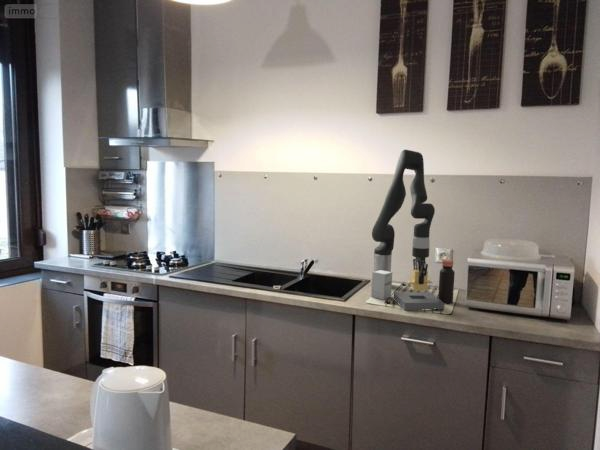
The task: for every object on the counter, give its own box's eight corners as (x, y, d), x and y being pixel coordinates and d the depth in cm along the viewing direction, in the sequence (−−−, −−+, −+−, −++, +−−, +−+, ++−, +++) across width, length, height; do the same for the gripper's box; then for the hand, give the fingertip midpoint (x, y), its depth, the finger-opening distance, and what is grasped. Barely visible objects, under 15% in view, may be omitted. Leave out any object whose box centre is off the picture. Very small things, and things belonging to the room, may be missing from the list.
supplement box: (383, 299, 226) (384, 274, 225) (370, 296, 231) (371, 271, 230) (391, 297, 232) (392, 272, 230) (378, 294, 237) (380, 269, 235)
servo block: (406, 288, 220) (407, 267, 219) (429, 288, 221) (430, 267, 220) (408, 290, 216) (409, 269, 215) (432, 290, 217) (433, 269, 216)
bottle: (443, 304, 221) (445, 262, 218) (435, 300, 227) (437, 259, 225) (455, 303, 222) (458, 262, 220) (447, 299, 229) (450, 259, 227)
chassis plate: (393, 299, 228) (393, 292, 227) (429, 299, 229) (429, 292, 229) (404, 310, 210) (404, 302, 210) (443, 310, 212) (443, 302, 211)
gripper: (434, 249, 210) (432, 286, 212) (423, 244, 224) (421, 279, 226) (418, 249, 209) (416, 286, 211) (408, 244, 223) (406, 279, 225)
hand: (419, 282), depth 218 cm, fingers closed on servo block, 4 cm apart
